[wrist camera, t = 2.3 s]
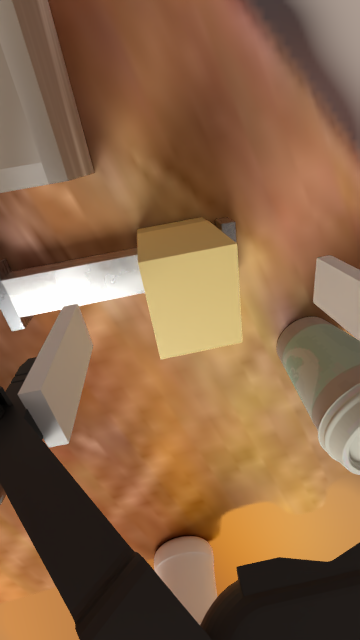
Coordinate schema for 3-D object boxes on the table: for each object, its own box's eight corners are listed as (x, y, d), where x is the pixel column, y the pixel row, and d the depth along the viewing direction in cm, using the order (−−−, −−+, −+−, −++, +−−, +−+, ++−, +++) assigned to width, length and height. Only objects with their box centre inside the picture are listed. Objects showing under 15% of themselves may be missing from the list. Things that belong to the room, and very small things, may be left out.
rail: (20, 319, 24) (12, 331, 22) (-8, 261, 22) (-20, 270, 20) (231, 277, 25) (238, 285, 23) (227, 216, 22) (235, 221, 21)
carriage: (152, 299, 24) (160, 359, 17) (136, 227, 22) (137, 262, 14) (210, 288, 25) (242, 342, 17) (202, 215, 22) (237, 243, 14)
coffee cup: (269, 306, 27) (355, 399, 16) (354, 300, 28) (486, 384, 17) (258, 378, 31) (321, 488, 20) (332, 371, 32) (428, 472, 22)
